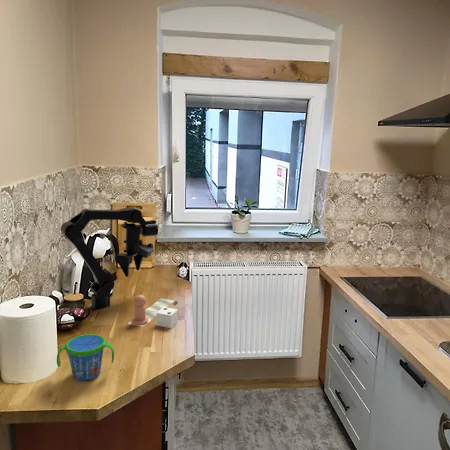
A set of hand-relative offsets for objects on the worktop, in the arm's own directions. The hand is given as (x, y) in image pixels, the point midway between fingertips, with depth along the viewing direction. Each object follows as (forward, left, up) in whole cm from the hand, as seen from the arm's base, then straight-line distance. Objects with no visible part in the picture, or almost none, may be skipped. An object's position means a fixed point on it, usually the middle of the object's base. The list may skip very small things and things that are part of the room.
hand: (132, 273), depth 165 cm
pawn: (-11, -20, -12) cm, 26 cm away
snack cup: (-42, -37, -13) cm, 58 cm away
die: (-4, -28, -13) cm, 31 cm away
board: (-1, -16, -13) cm, 20 cm away
